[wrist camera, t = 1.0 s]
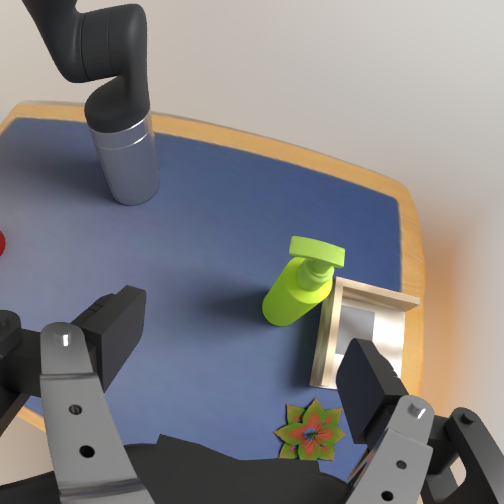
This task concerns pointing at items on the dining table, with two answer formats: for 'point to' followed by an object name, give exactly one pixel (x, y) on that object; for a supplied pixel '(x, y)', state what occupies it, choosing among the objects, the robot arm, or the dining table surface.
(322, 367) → the corner arena
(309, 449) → the lily flower
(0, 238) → the plastic cup
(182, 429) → the dining table surface
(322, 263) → the soap dispenser
